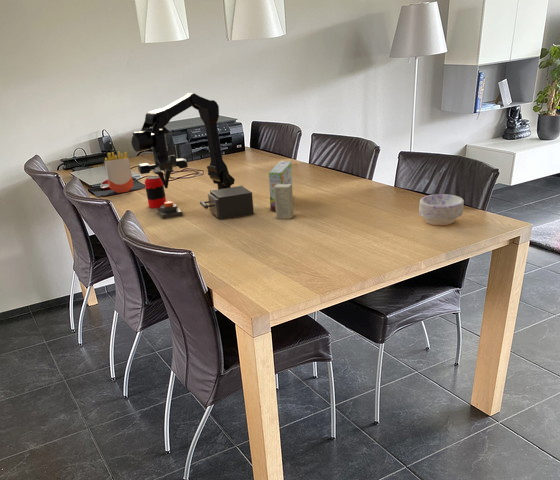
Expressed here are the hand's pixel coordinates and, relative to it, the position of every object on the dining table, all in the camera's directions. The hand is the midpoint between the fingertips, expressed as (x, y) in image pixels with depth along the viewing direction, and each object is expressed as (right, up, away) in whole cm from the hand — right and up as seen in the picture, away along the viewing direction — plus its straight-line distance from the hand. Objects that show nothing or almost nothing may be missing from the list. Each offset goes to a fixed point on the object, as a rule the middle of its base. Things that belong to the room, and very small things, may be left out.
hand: (166, 188), depth 229 cm
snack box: (+47, -4, +9) cm, 48 cm away
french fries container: (-30, +12, +44) cm, 54 cm away
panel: (0, -9, +6) cm, 11 cm away
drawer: (+23, -10, 0) cm, 25 cm away
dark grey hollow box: (+27, -10, +2) cm, 28 cm away
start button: (0, -6, +4) cm, 7 cm away
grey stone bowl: (+103, -20, -23) cm, 108 cm away
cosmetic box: (+47, -14, -7) cm, 50 cm away
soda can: (-7, -2, +18) cm, 19 cm away
